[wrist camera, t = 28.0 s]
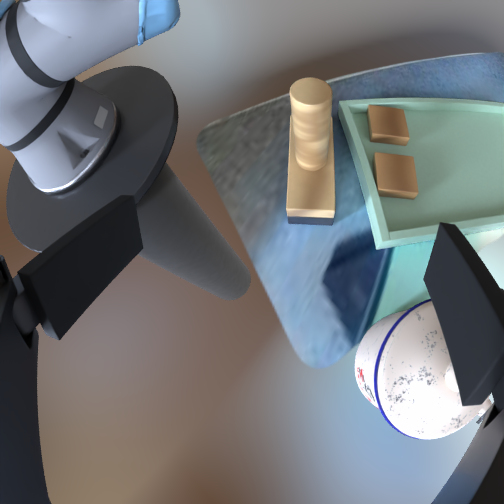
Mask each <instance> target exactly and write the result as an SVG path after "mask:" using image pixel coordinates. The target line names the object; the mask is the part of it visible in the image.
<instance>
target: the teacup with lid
mask: <svg viewBox="0 0 504 504" xmlns="http://www.w3.org/2000/svg"><path fill="white" fill-rule="evenodd" d="M355 375H356V380H357V383H358V386H359V388H360V389H361V391H362V393H363V395H364V396H365V397H366V398H367V399H368V400H369V401H370V402H371V403H372V404H373V405H375V406H376V407H377V408H378V409H379V410H380V411H381V413H382V415H383V416H384V418H385V420H386V421H387V422H388V423H389V424H390V425H391V426H392V427H393V428H394V429H396V430H397V431H398V432H400V433H402V434H403V435H406V436H409V437H412V438H416V439H434V438H440V437H444V436H447V435H449V434H451V433H453V432H455V431H457V430H459V429H461V428H462V427H463V426H465V425H466V424H467V423H469V422H470V421H471V420H472V419H473V418H474V417H475V416H476V415H479V416H482V415H483V414H484V413H485V412H486V411H487V410H488V408H489V407H490V406H491V405H492V404H491V401H490V400H489V399H488V398H489V396H490V395H489V396H488V398H487V399H486V400H485V401H484V402H483V404H482V405H473V406H462V402H461V398H460V394H459V389H458V385H457V381H456V377H455V373H454V370H453V366H452V362H451V359H450V355H449V352H448V348H447V345H446V342H445V339H444V335H443V332H442V329H441V326H440V323H439V320H438V317H437V314H436V311H435V309H434V306H433V303H432V300H431V299H429V300H426V301H423V302H421V303H419V304H417V305H415V306H414V307H412V308H411V309H409V310H405V311H402V312H398V313H394V314H391V315H388V316H386V317H384V318H382V319H381V320H379V321H378V322H377V323H375V324H374V325H373V326H372V327H371V328H370V329H369V330H368V331H367V333H366V334H365V335H364V337H363V339H362V341H361V342H360V345H359V347H358V350H357V353H356V358H355Z"/></svg>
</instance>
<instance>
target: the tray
mask: <svg viewBox="0 0 504 504" xmlns="http://www.w3.org/2000/svg"><path fill="white" fill-rule="evenodd" d="M368 105H374V106H383V107H391V108H399V109H404V113H405V118H406V122H407V127H408V132H409V137H410V139H409V141H408V143H407V145H406V146H401V145H393V144H384V143H374V142H370V138H369V129H368V121H367V109H368ZM338 116H339V119H340V122H341V125H342V128H343V131H344V134H345V136H346V140H347V143H348V146H349V149H350V152H351V155H352V158H353V162H354V165H355V168H356V172H357V175H358V178H359V182H360V185H361V189H362V193H363V196H364V200H365V204H366V208H367V212H368V216H369V220H370V224H371V228H372V232H373V237H374V241H375V245H376V249H383V248H389V247H396V246H402V245H408V244H414V243H420V242H426V241H432V240H435V239H436V235H437V231H438V227H439V223H440V222H443V223H450V224H455V225H456V226H457V227H458V228H459V230H460V231H461V232H462V234H463V235H466V234H472V233H478V232H483V231H489V230H494V229H500V228H504V103H501V102H492V101H481V100H468V99H451V98H378V99H360V100H347V101H346V100H345V101H339V108H338ZM375 152H379V153H389V154H398V155H406V156H413V157H414V163H415V170H416V177H417V184H418V192H419V193H418V195H417V196H416V197H415V199H414V200H411V199H401V198H390V197H379V194H378V191H377V188H376V184H375V181H374V176H373V163H372V160H373V156H374V153H375Z"/></svg>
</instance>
